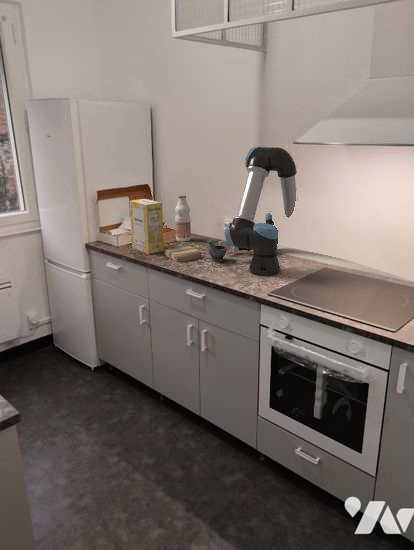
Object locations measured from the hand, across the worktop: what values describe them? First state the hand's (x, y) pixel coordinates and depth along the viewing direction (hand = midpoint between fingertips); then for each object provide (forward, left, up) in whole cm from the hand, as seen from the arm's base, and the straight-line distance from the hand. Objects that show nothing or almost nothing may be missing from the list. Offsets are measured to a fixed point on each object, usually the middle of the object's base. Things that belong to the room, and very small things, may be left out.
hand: (226, 246), depth 247 cm
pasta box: (+40, +29, -7) cm, 50 cm away
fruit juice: (+48, +1, -7) cm, 49 cm away
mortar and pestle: (-1, +7, -7) cm, 9 cm away
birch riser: (+15, +19, -6) cm, 25 cm away
